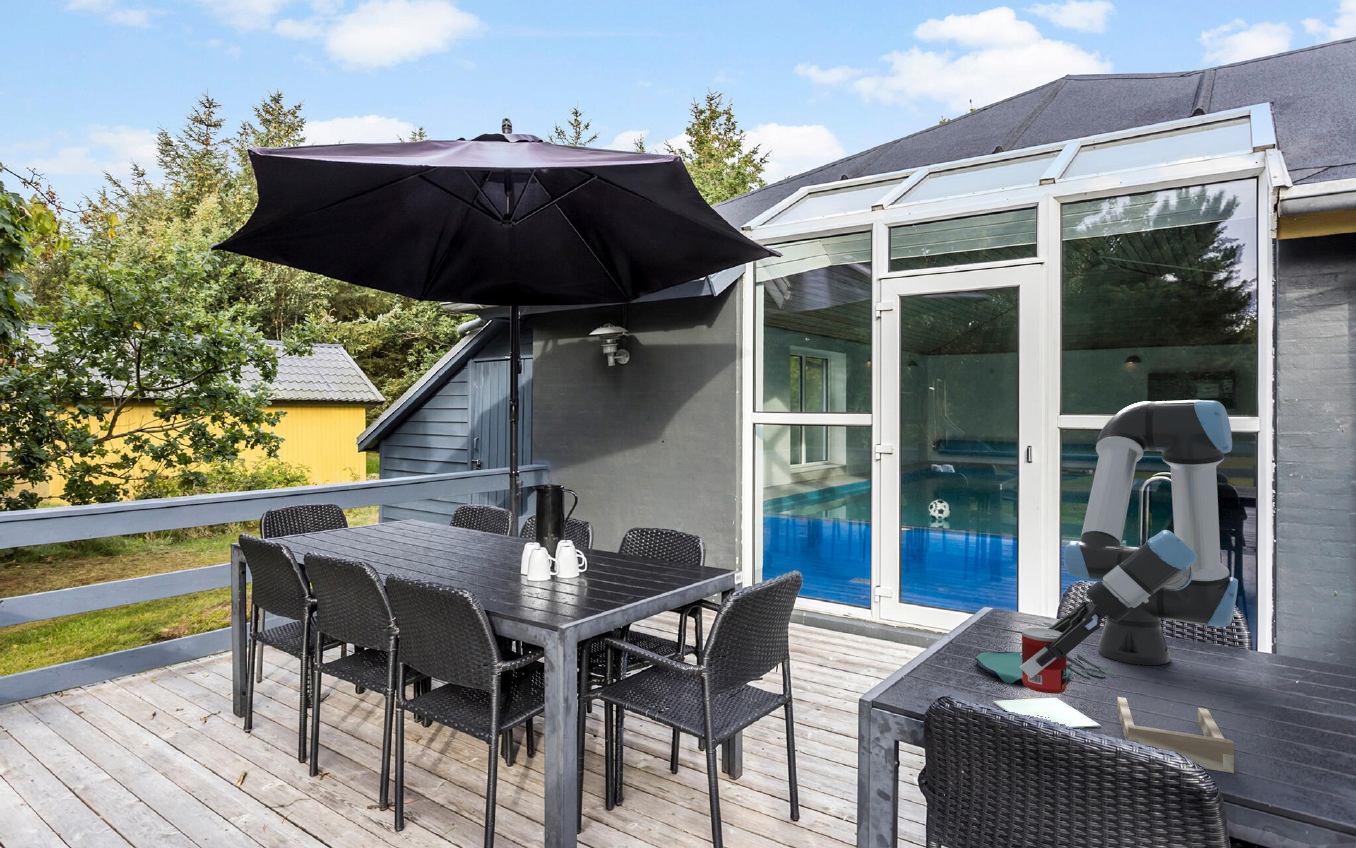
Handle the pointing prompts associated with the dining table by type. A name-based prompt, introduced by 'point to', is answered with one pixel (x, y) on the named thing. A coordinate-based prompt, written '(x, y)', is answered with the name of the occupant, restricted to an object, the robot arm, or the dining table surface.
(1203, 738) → the shelf lane
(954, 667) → the dining table surface
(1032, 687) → the canned food
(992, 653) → the cutlery set
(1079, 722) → the pad
